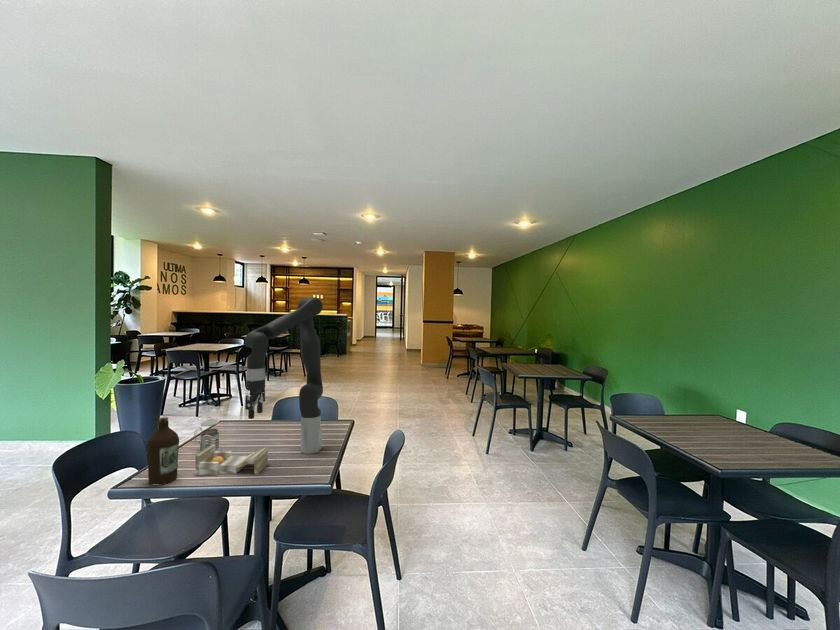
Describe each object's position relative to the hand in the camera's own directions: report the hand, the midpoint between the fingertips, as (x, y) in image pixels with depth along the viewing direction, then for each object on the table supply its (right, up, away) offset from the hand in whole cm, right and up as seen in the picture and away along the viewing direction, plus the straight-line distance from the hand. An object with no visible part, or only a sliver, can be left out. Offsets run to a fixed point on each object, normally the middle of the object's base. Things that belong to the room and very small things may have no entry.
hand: (255, 415), depth 157 cm
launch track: (-10, -23, 0) cm, 25 cm away
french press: (-32, -23, +19) cm, 43 cm away
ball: (-16, -20, 0) cm, 26 cm away
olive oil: (-32, -23, -11) cm, 41 cm away
